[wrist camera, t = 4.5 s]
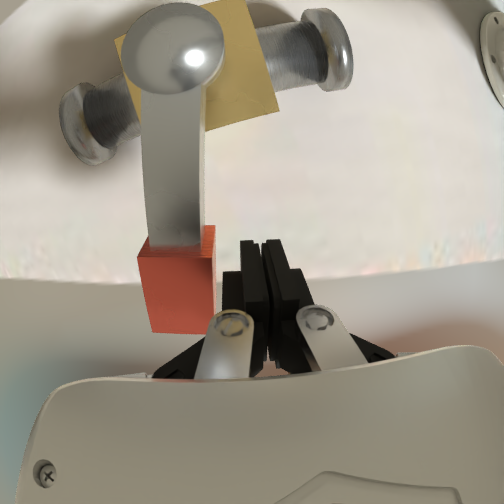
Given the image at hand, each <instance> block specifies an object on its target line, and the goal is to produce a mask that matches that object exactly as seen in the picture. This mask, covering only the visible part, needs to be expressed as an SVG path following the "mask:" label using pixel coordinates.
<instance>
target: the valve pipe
mask: <svg viewBox="0 0 504 504" xmlns="http://www.w3.org/2000/svg"><path fill="white" fill-rule="evenodd" d="M200 7H202V8H204V9H206V10H207V11H209V12H210V13H211V14H212V15H213V16H214V17H215V18H216V19H217V21H218V22H219V24H220V26H221V28H222V31H223V36H224V45H225V63H224V67H223V69H222V71H221V73H220V75H219V76H218V78H217V79H216V80H215V81H214V82H213V83H212V84H211V85H210V86H209V87H207V88H206V106H205V132H206V131H209V130H213V129H216V128H219V127H222V126H226V125H229V124H232V123H236V122H239V121H243V120H247V119H250V118H254V117H258V116H262V115H266V114H270V113H274V112H279V107H278V103H277V100H276V96H275V93H274V92H278V91H282V90H287V89H292V88H297V87H303V86H308V85H314V84H318V85H319V87H320V88H321V89H322V90H324V91H326V92H329V91H336V90H343V89H346V88H347V87H348V86H349V84H350V82H351V80H352V75H353V54H352V49H351V44H350V40H349V37H348V35H347V32H346V30H345V28H344V26H343V24H342V22H341V21H340V19H339V18H338V16H337V15H336V14H335V13H334V12H332V11H331V10H329V9H327V8H317V9H307V10H305V11H304V12H303V14H302V16H301V21H297V22H289V23H282V24H276V25H270V26H264V27H259V28H254V25H253V22H252V19H251V16H250V13H249V11H248V8H247V5H246V2H245V0H219V1H215V2H211V3H207V4H204V5H200ZM126 34H127V33H126ZM126 34H124V35H122V36H120V37H118V38H116V39H114V42H115V45H116V49H117V52H118V56H119V59H120V62H121V48H122V44H123V40H124V38H125V36H126ZM121 66H122V63H121ZM122 69H123V67H122ZM123 72H124V70H123ZM59 117H60V124H61V128H62V131H63V134H64V137H65V139H66V141H67V143H68V145H69V147H70V148H71V150H72V151H73V152H74V154H75V155H76V156H77V157H78V158H79V159H80V160H82V161H83V162H84V163H86V164H88V165H93V166H94V165H98V164H100V163H102V162H104V161H106V160H109V159H111V158H112V157H113V156H114V155H115V153H116V150H117V145H120V144H122V143H124V142H126V141H128V140H131V139H133V138H135V137H138V136H140V135H141V89H140V88H139V87H137V86H136V85H135V84H133V83H132V82H131V81H130V80H129V78H128V77H127V76H126V74H125V72H124V73H122V74H119V75H117V76H115V77H113V78H111V79H110V80H108V81H106V82H104V83H102V84H100V85H98V86H96V87H94V86H93V85H91V84H89V83H80V84H79V85H77V86H75V87H74V88H72V89H71V90H69V91H68V92H66V93H65V94H64V95H63V97H62V99H61V102H60V108H59Z"/></svg>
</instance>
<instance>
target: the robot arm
mask: <svg viewBox="0 0 504 504" xmlns="http://www.w3.org/2000/svg"><path fill="white" fill-rule="evenodd" d="M480 42H481V51H482V56H483V61H484V65H485V69H486V72H487V75H488V78H489V81H490V84H491V86H492V88H493V90H494V93H495V95H496V96H497V98H498V100H499V102H500V103H501V105H502V106H503V107H504V13H502V12H491V13H488V14H487V15H486V16H485V17H484V19H483V21H482V24H481V30H480ZM240 258H241V271H227V272H223V285H222V311H221V312H219V313H217V314H215V315H214V316H213V317H212V318H211V320H210V322H209V325H208V329H207V333H206V336H205V337H204V338H203V339H201V340H200V341H198V342H197V343H195V344H194V345H192V346H191V347H190V348H188V349H187V350H185V351H184V352H182V353H181V354H179V355H178V356H176V357H175V358H173V359H172V360H171V361H169V362H168V363H166V364H165V365H163V366H162V367H160V368H159V369H158V370H157V371H156V372H155V373H154V374H153V375H146V373H138V374H129V375H121V376H112V377H99V378H90V379H83V380H79V381H75V382H71V383H68V384H65V385H63V386H60V387H58V388H57V389H55V390H54V391H53V392H52V393H51V394H50V395H49V396H48V397H47V399H46V400H45V402H44V403H43V405H42V407H41V409H40V411H39V413H38V415H37V417H36V420H35V422H34V425H33V427H32V430H31V433H30V436H29V439H28V442H27V445H26V449H25V452H24V456H23V461H22V465H21V470H20V475H19V480H18V486H17V492H16V498H15V504H504V365H503V364H502V363H501V362H500V360H499V359H498V358H497V357H496V356H495V355H494V354H493V353H492V352H491V351H489V350H487V349H485V348H482V347H477V346H470V345H469V346H468V345H459V346H458V345H457V346H449V347H443V348H438V349H434V350H429V351H424V352H419V353H397V354H396V356H394V355H393V354H392V353H390V352H389V351H387V350H385V349H383V348H381V347H378V346H377V345H374V344H372V343H370V342H368V341H366V340H364V339H361V338H359V337H357V336H355V335H353V334H350V333H349V332H348V331H347V329H346V328H345V326H344V325H343V323H342V322H341V320H340V319H339V317H338V316H337V314H336V313H335V312H334V311H333V310H331V309H329V308H328V307H325V306H322V305H315V304H314V302H313V299H312V296H311V294H310V291H309V288H308V286H307V283H306V281H305V278H304V276H303V273H302V271H301V269H300V268H299V269H290V267H289V264H288V261H287V258H286V255H285V252H284V250H283V247H282V244H281V241H280V239H274V240H266V243H262V246H261V254H260V249H259V244H258V243H256V244H254V242H253V240H244V241H240ZM267 346H268V352H269V358H270V361H275V364H276V368H282V369H284V370H285V371H287V372H288V375H280V376H268V377H254V376H255V375H257V374H258V373H259V372H260V371H261V370H262V369H263V361H266V360H267Z"/></svg>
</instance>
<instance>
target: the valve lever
mask: <svg viewBox="0 0 504 504" xmlns="http://www.w3.org/2000/svg"><path fill="white" fill-rule="evenodd" d="M121 63H122V67H123V70H124V72H125V74H126V76H127V77H128V78H129V80H130V81H131V82H132V83H133V84H135V85H136V86H137V87H139V88H140V89H141V146H142V168H143V183H144V196H145V207H146V217H147V227H148V237H147V239H146V241H145V243H144V245H143V246H142V248H141V250H140V252H139V254H138V256H137V260H138V266H139V272H140V277H141V282H142V287H143V292H144V297H145V302H146V306H147V311H148V315H149V319H150V324H151V328H152V332H156V333H174V334H206V333H207V329H208V325H209V322H210V320H211V318H212V317H213V316H214V315H215V314H216V244H215V225H205V204H204V151H205V106H206V88H207V87H209V86H210V85H211V84H212V83H213V82H214V81H215V80H216V79H217V78H218V76H219V75H220V73H221V71H222V69H223V67H224V63H225V45H224V36H223V31H222V28H221V26H220V24H219V22H218V21H217V19H216V18H215V17H214V16H213V15H212V14H211V13H210V12H209V11H207V10H206V9H204V8H202V7H200V6H197V5H194V4H190V3H169V4H165V5H161V6H159V7H156V8H154V9H152V10H150V11H148V12H147V13H145V14H144V15H142V16H141V17H140V18H139V19H137V20H136V22H135V23H134V24H133V25H132V26H131V27H130V29H129V30H128V32H127V34H126V36H125V38H124V40H123V44H122V48H121Z"/></svg>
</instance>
